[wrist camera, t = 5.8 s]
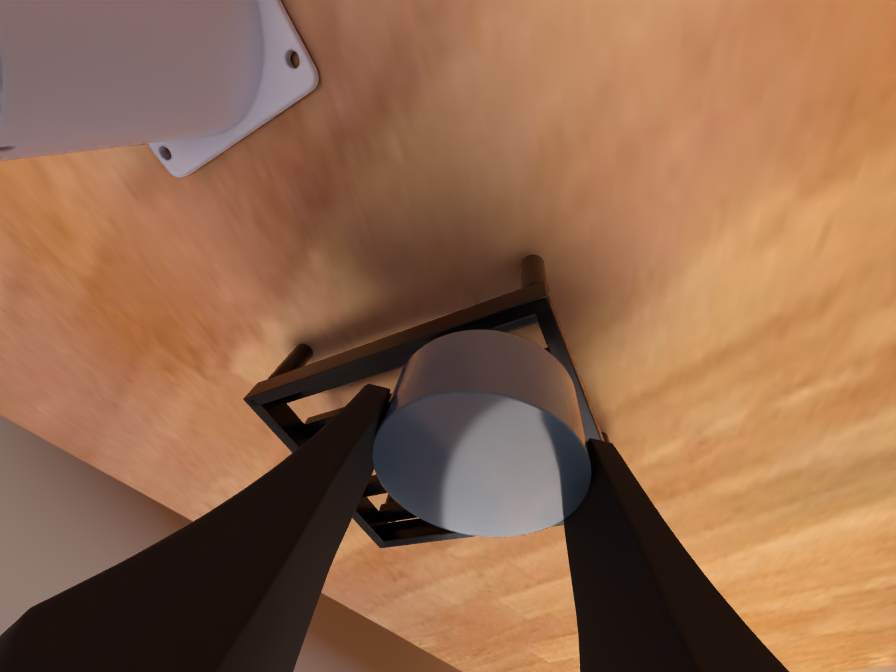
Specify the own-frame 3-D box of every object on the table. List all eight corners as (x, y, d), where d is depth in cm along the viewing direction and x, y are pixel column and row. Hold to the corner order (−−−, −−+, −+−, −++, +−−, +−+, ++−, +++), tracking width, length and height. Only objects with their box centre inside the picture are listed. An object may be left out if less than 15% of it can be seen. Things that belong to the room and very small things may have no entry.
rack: (291, 344, 21) (242, 399, 17) (538, 248, 16) (546, 294, 12) (399, 483, 26) (379, 548, 22) (609, 442, 21) (631, 517, 17)
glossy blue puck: (409, 308, 10) (380, 364, 8) (607, 355, 10) (633, 426, 8) (389, 442, 13) (365, 510, 11) (542, 480, 13) (548, 555, 11)
